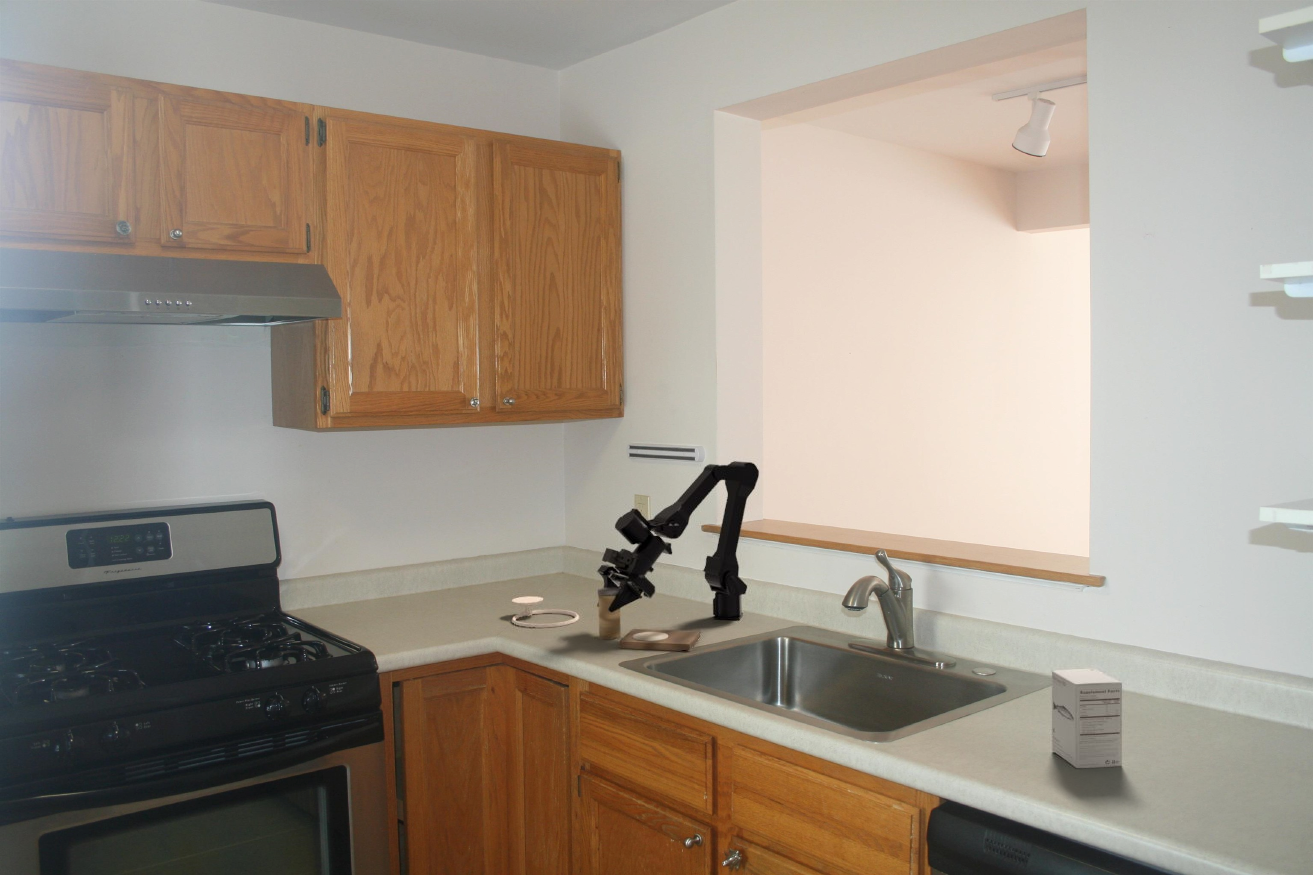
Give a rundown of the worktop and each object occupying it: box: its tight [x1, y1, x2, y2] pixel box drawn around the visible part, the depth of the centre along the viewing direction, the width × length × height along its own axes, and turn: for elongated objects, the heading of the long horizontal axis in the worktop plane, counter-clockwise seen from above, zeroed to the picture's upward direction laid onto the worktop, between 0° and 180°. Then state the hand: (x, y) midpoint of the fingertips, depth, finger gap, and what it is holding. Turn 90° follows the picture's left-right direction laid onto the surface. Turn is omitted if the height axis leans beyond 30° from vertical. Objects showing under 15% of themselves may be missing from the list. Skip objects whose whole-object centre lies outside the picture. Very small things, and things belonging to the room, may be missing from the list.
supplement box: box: [1051, 668, 1123, 769], centre depth 146 cm, size 7×7×13 cm
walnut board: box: [618, 628, 701, 651], centre depth 221 cm, size 16×12×2 cm
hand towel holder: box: [511, 595, 580, 629], centre depth 247 cm, size 17×4×21 cm
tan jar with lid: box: [597, 587, 622, 640], centre depth 227 cm, size 5×5×11 cm
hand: (604, 609), depth 227 cm, fingers open, 5 cm apart
